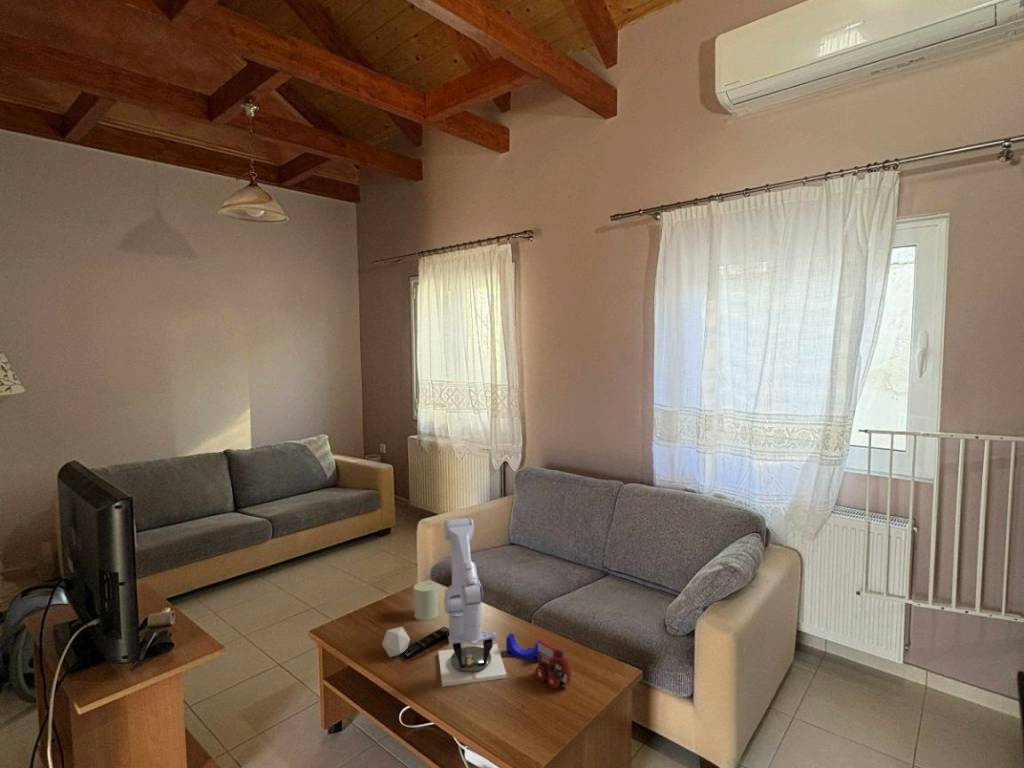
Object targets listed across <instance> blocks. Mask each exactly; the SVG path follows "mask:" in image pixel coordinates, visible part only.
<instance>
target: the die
mask: <svg viewBox="0 0 1024 768" xmlns="http://www.w3.org/2000/svg"><path fill="white" fill-rule="evenodd" d="M410 641H411V638H410V636H409V634H408V633H407V631H406V629H404V627H403V626H398V627H394V628H391V629H387V630H386V632H385V635H384V637H383V640H382V644H381V645H382V647H383V649H384V650H385V652H386V655H388V657H389V658H393V657H397V656H401V655H402V654H401V653H403V652H404V651H405V650H406V649H408V647H409V643H410ZM406 651H407V650H406ZM400 654H401V655H400Z"/></svg>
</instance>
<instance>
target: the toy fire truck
mask: <svg viewBox="0 0 1024 768" xmlns="http://www.w3.org/2000/svg"><path fill="white" fill-rule="evenodd" d="M538 651H539V657H538V662H537V664H538V665H537V667H536V668H535V670H534V674H535V677H536V679H537V680H538V681H540V682H544V681H545V680H546V681H547V684H548V686H549V687H550V688H551V689H554V690H555V689H557V688H558V687H560V682H562V684H563V683H564V684H565V685H567V684H569V683H571V676H572V675H571V674H572V673H571V668H570V666H569V663H568V660H567V657H566V656H565V655H564V651H563V650H562V649H561V648H560V649H557V647H555V646H553V645H552V644H550V643H548V642H546V641H544V640H543V641H540V642H538Z"/></svg>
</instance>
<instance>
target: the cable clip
mask: <svg viewBox="0 0 1024 768" xmlns="http://www.w3.org/2000/svg"><path fill="white" fill-rule="evenodd" d="M505 639H506V655H508V656H512V657H517V658H520V659H525V660H529V661H532V662H533V661H534V662H537V663H538V657H539V651H538V642H540V641H544V640H542V639H537V641H536V643H535V645H534V647H527V648H526V649H525V648H523V647H521V646H520V645H519V644H518V642H517V640H516V638H515V634H514V633H510V632H509V634H508V635H507V636H506V638H505Z"/></svg>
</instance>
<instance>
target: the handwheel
mask: <svg viewBox="0 0 1024 768" xmlns="http://www.w3.org/2000/svg"><path fill="white" fill-rule="evenodd" d="M475 646H476V645H475ZM475 646H474V645H472V646H471V645H470V646H465V647H461V649H462V657H461V658H462V668H460V666H459V661H458V658H457V656H456V654H455V652H454V653H453V655H452V656H451V664H452V666H453V667H454V668H456V669H458V670H461V671H466V672H472V671H478V670H481V669H483V668H485V667H487V666H488V665H489V664H490V662H491V654H490V652H489V655H488V658H487V664H486V665H484V662H483V652H484V648H481V647H475Z"/></svg>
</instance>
